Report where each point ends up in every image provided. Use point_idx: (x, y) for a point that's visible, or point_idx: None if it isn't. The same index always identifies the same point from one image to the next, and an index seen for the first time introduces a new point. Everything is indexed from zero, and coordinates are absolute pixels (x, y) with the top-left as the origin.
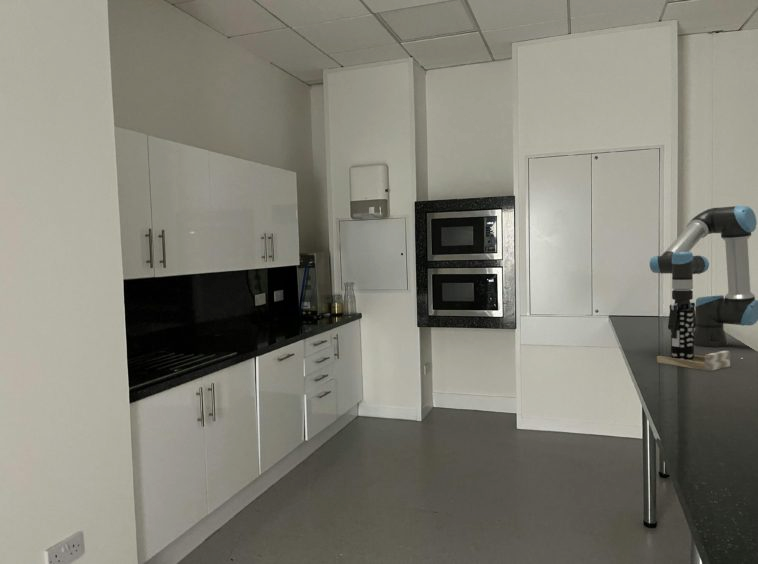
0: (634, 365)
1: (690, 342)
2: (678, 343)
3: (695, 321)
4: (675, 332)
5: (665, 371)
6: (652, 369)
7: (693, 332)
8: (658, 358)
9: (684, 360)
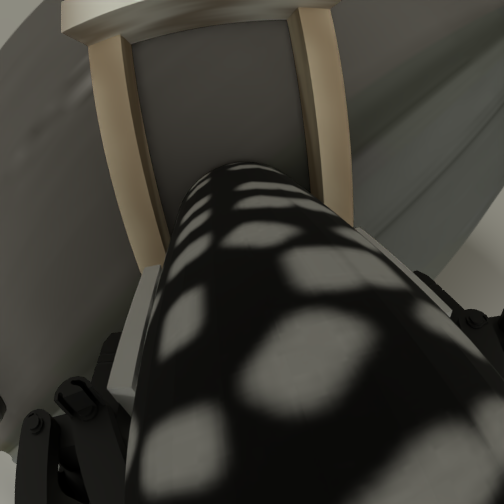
0: (438, 270)
1: (278, 192)
2: (371, 239)
3: (25, 462)
4: (452, 306)
5: (457, 128)
6: (458, 183)
7: (220, 256)
8: None
9: (344, 136)
